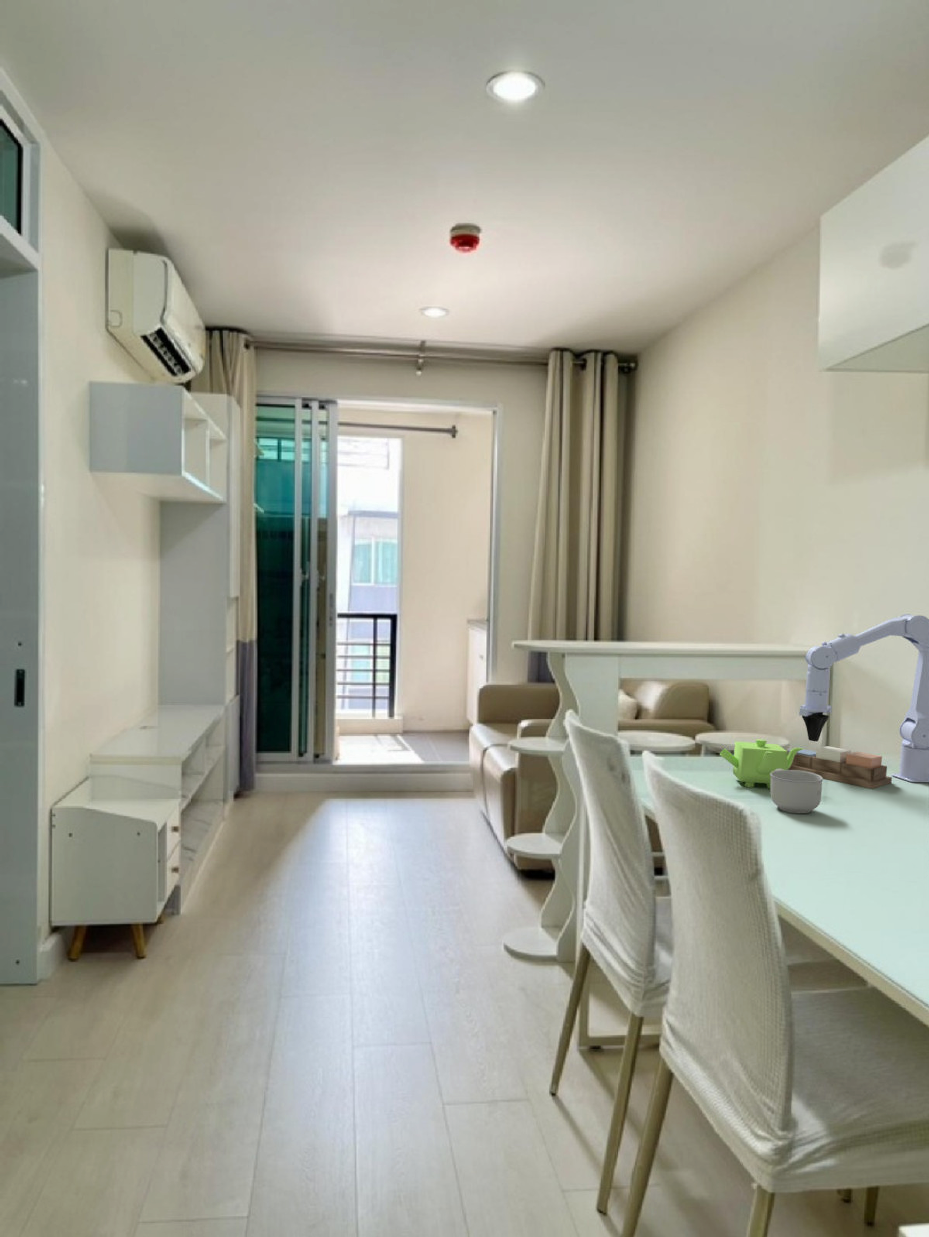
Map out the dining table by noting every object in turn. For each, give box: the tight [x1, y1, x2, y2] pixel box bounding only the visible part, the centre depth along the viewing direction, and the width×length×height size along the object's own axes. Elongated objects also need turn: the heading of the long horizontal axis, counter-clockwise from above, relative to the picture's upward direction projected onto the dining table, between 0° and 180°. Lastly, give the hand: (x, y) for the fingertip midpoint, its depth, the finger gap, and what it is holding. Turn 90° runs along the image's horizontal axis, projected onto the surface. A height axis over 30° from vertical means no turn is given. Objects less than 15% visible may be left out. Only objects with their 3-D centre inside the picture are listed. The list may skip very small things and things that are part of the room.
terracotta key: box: [846, 751, 883, 769], centre depth 227 cm, size 6×6×3 cm
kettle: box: [719, 738, 805, 790], centre depth 217 cm, size 15×14×11 cm
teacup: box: [770, 769, 824, 814], centre depth 195 cm, size 14×11×8 cm
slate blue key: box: [787, 748, 816, 757], centre depth 239 cm, size 6×6×3 cm
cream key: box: [815, 745, 852, 763], centre depth 233 cm, size 6×6×3 cm
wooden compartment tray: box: [786, 750, 893, 789], centre depth 233 cm, size 26×12×4 cm, turn 43°
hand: (813, 740), depth 237 cm, fingers closed
